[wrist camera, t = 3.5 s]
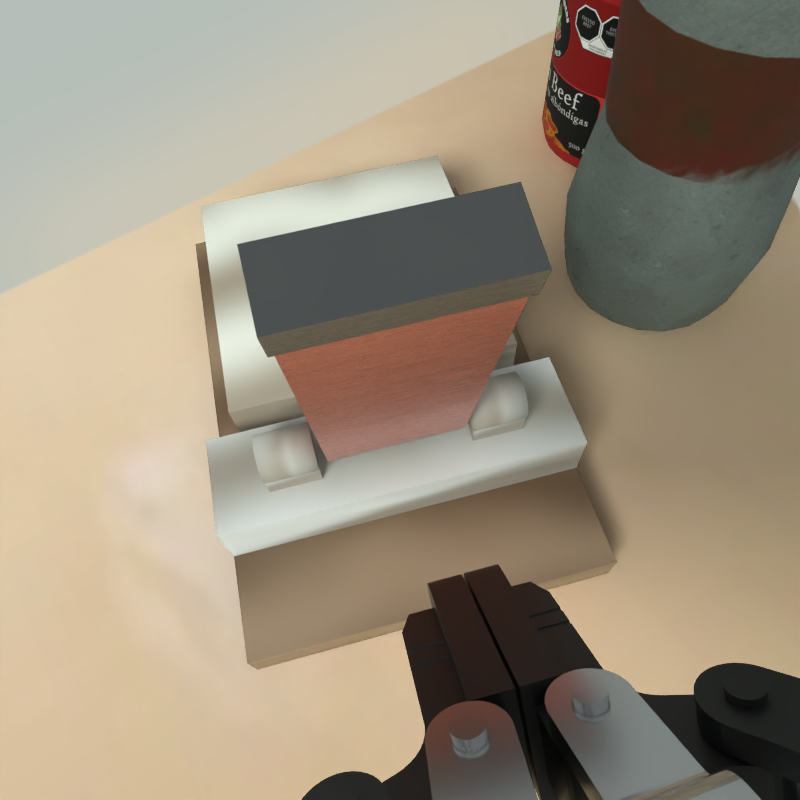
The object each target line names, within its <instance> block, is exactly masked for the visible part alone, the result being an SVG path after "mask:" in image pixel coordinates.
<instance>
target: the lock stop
mask: <svg viewBox="0 0 800 800" xmlns="http://www.w3.org/2000/svg"><path fill="white" fill-rule="evenodd" d="M237 246H238V251H239V256H240V260H241V265H242V270H243V275H244V279H245V284H246V289H247V293H248V298H249V303H250V307H251V312H252V317H253V322H254V326H255V331H256V336H257V339H258V341H259V343H260V344H261V346H262V348H263V350H264V352H265V354H266V355H267V357H268V358H269V357H273V356H275V358H276V360H277V362H278V364H279V366H280V368H281V370H282V372H283V374H284V376H285V378H286V380H287V382H288V384H289V386H290V388H291V390H292V392H293V394H294V396H295V398H296V400H297V401H298V403H299V405H300V407H301V409H302V411H303V413H304V415H305V417H306V419H307V421H308V423H309V425H310V427H311V429H312V431H313V433H314V435H315V437H316V439H317V441H318V443H319V445H320V447H321V449H322V451H323V453H324V455H325V457H326V459H327V460H328V461H335V460H339V459H343V458H347V457H351V456H355V455H359V454H363V453H367V452H371V451H375V450H379V449H383V448H387V447H391V446H395V445H399V444H403V443H407V442H411V441H415V440H419V439H423V438H427V437H431V436H435V435H439V434H443V433H447V432H451V431H455V430H459V429H460V428H464V427H466V425H467V423H468V421H469V419H470V417H471V414H472V412H473V410H474V408H475V406H476V404H477V402H478V400H479V398H480V396H481V394H482V392H483V390H484V388H485V386H486V384H487V382H488V380H489V378H490V376H491V374H492V372H493V370H494V368H495V366H496V363H497V361H498V359H499V357H500V355H501V353H502V351H503V349H504V347H505V345H506V343H507V341H508V339H509V337H510V335H511V333H512V331H513V329H514V327H515V325H516V323H517V321H518V319H519V317H520V314H521V312H522V310H523V308H524V306H525V304H526V302H527V300H528V298H529V296H533V295H537V294H539V293H540V291H541V289H542V287H543V285H544V283H545V281H546V279H547V277H548V276H549V274H550V272H551V270H552V269H551V266H550V263H549V261H548V258H547V255H546V252H545V249H544V246H543V244H542V241H541V238H540V235H539V232H538V229H537V226H536V224H535V221H534V218H533V215H532V212H531V209H530V207H529V204H528V201H527V198H526V195H525V192H524V190H523V187H522V184H521V182H518V183H514V184H509V185H505V186H500V187H496V188H491V189H486V190H482V191H477V192H473V193H468V194H464V195H459V196H455V197H450V198H445V199H441V200H436V201H432V202H427V203H423V204H418V205H413V206H409V207H404V208H400V209H395V210H391V211H386V212H382V213H377V214H372V215H368V216H363V217H359V218H354V219H350V220H345V221H340V222H336V223H331V224H327V225H322V226H318V227H313V228H309V229H304V230H299V231H295V232H290V233H286V234H281V235H277V236H272V237H267V238H263V239H258V240H254V241H249V242H245V243H240V244H237Z"/></svg>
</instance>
